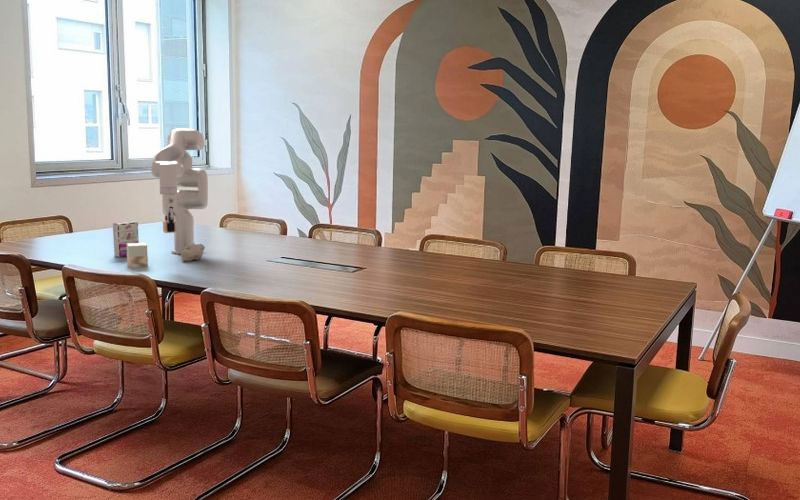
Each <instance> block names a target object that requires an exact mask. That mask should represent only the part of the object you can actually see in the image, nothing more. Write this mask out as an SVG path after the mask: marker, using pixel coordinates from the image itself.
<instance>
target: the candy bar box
mask: <svg viewBox="0 0 800 500" xmlns="http://www.w3.org/2000/svg"><path fill="white" fill-rule="evenodd" d="M112 234H113V235H112V237H113V250H114V251H113V253H114V254H113V255H114V257H115V258H125V257H126V258H127V243H140V242H139V225H138V221H133V220H132V221H124V222H116V223H112Z"/></svg>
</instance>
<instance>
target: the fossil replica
mask: <svg viewBox="0 0 800 500" xmlns="http://www.w3.org/2000/svg"><path fill="white" fill-rule="evenodd" d="M195 244H196V245H189V246H187V247H185V248H184V250H183V251H182V252H181V254H180V258H181V260H183V261H185V262H191V261H193V260H195V261H198V260H201V259H202V258H203V257H204V256H203V254H204V250H205V249H206V248H205V246H203V245H204V244H203V243H195ZM202 244H203V245H202Z"/></svg>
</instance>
